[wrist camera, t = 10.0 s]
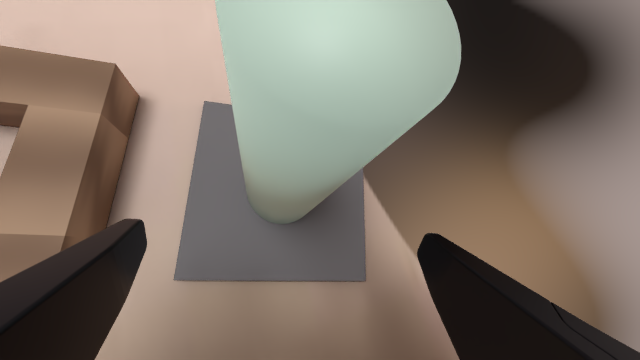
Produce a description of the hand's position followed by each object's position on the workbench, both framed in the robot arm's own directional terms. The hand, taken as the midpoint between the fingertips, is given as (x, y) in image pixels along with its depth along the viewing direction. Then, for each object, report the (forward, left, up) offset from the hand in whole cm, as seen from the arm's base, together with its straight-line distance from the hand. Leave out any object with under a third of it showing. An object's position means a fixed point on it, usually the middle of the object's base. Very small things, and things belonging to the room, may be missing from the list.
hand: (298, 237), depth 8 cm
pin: (+4, 0, -8) cm, 9 cm away
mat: (+4, 0, -8) cm, 9 cm away
